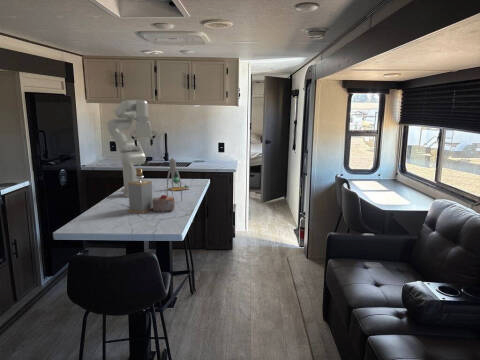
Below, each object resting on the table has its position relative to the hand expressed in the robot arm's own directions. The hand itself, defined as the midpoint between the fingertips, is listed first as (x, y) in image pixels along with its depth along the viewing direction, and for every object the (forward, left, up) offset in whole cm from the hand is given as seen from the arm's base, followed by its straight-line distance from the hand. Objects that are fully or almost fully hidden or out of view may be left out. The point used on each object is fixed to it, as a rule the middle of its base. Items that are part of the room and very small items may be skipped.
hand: (143, 145), depth 238 cm
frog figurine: (-1, +39, -39) cm, 55 cm away
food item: (+23, -13, -39) cm, 47 cm away
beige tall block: (+10, -18, -38) cm, 43 cm away
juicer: (+17, +10, -38) cm, 43 cm away
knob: (+10, -18, -37) cm, 42 cm away
